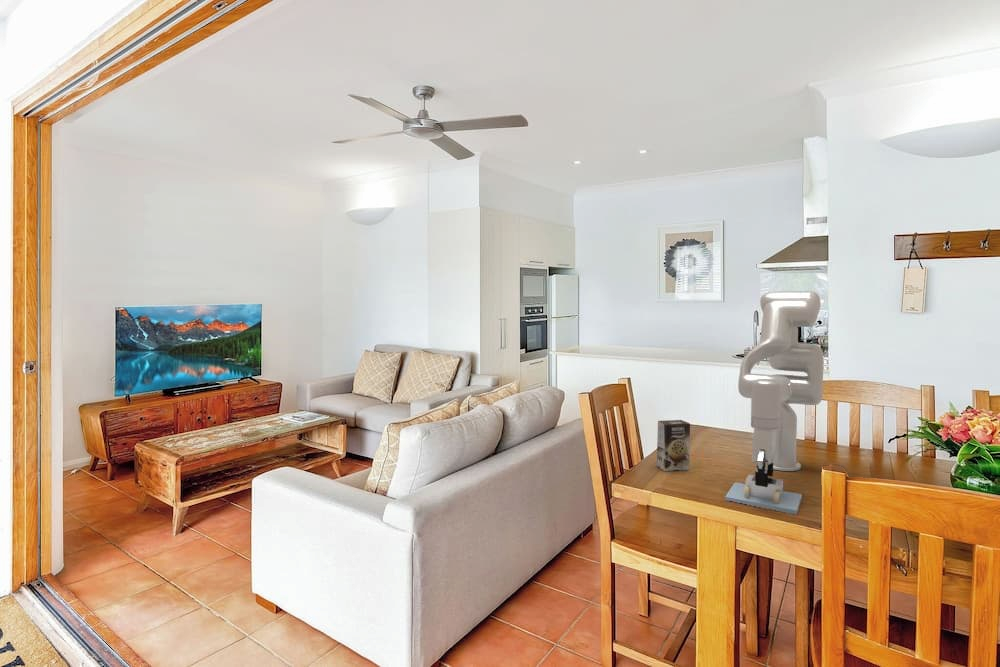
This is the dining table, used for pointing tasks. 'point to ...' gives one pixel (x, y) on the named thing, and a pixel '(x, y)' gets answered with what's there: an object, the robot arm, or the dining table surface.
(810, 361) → the robot arm
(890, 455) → the dining table surface
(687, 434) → the cookie box
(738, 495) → the blue pegged holder base
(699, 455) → the dining table surface
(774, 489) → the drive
